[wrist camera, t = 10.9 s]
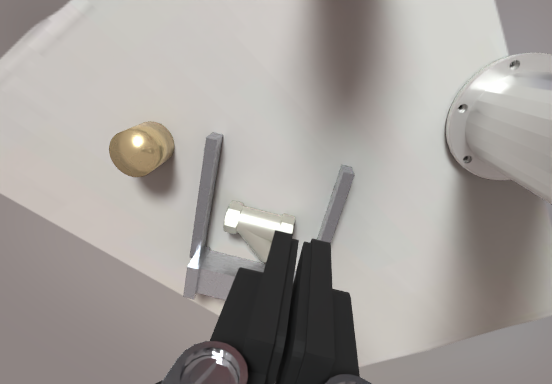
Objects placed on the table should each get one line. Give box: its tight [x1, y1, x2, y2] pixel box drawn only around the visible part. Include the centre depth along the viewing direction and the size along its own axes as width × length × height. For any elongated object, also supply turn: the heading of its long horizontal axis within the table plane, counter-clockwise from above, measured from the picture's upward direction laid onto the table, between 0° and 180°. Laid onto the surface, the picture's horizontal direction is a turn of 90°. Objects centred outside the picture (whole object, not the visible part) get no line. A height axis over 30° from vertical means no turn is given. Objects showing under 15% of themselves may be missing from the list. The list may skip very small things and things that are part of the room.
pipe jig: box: [183, 133, 354, 300], centre depth 39 cm, size 16×20×5 cm
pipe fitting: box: [223, 201, 295, 262], centre depth 40 cm, size 8×4×7 cm
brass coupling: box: [109, 122, 174, 177], centre depth 36 cm, size 5×5×5 cm
